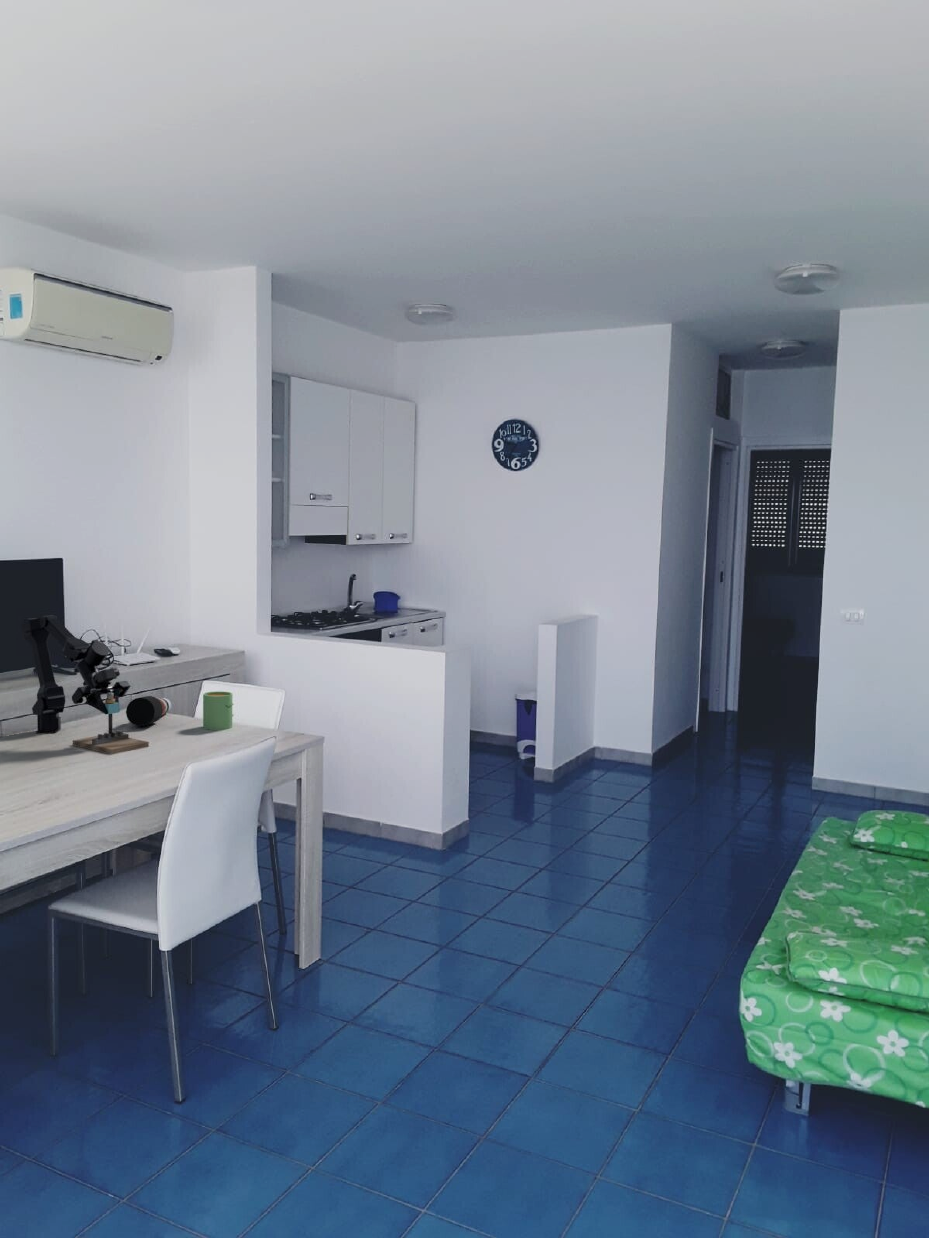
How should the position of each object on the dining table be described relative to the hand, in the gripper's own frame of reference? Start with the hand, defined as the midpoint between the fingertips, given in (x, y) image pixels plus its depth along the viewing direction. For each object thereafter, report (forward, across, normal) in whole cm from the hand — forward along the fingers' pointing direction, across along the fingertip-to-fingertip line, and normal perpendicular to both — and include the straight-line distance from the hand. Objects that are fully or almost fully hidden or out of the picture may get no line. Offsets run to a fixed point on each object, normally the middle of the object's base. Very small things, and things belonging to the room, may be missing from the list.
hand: (113, 712), depth 319 cm
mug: (+9, +43, +7) cm, 44 cm away
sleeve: (-1, 0, +1) cm, 1 cm away
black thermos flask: (-10, +37, +26) cm, 46 cm away
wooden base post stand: (+7, 0, +9) cm, 11 cm away
